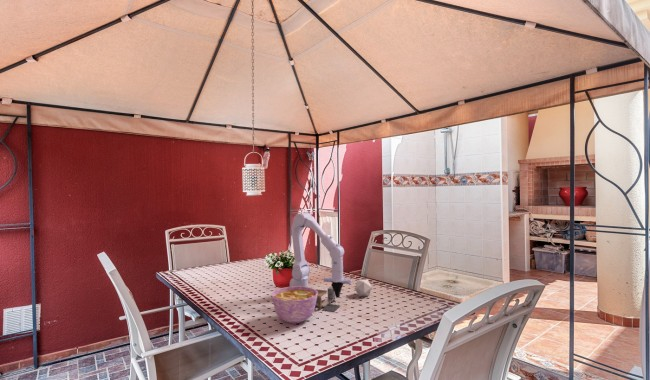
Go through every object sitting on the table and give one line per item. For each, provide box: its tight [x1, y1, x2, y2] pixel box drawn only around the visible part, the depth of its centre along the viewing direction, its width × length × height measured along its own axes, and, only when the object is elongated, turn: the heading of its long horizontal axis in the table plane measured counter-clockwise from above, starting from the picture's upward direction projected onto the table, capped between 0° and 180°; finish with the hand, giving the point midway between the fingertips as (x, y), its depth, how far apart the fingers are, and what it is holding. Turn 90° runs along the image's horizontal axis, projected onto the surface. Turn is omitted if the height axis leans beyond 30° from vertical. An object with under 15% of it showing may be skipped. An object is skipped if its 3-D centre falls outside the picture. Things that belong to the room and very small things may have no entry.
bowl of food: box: [271, 286, 318, 325], centre depth 139 cm, size 20×20×12 cm
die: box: [354, 279, 373, 297], centre depth 170 cm, size 8×9×10 cm
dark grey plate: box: [322, 303, 341, 313], centre depth 152 cm, size 6×8×1 cm
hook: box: [315, 286, 336, 308], centre depth 160 cm, size 10×15×6 cm
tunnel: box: [315, 289, 328, 311], centre depth 155 cm, size 6×8×7 cm
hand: (337, 297), depth 162 cm, fingers closed
